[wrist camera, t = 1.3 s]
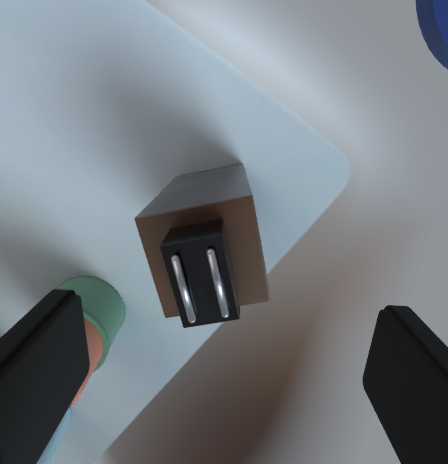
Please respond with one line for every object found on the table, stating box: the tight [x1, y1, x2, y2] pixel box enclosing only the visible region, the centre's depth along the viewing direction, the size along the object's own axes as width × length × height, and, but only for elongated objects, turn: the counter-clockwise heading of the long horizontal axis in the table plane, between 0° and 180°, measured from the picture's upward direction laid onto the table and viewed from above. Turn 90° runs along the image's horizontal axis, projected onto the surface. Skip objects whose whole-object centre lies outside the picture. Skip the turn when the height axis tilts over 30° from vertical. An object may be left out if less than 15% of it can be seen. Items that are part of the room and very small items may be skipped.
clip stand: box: [135, 163, 271, 318], centre depth 26 cm, size 7×7×15 cm
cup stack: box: [57, 276, 125, 407], centre depth 32 cm, size 9×9×11 cm
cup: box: [37, 408, 71, 464], centre depth 38 cm, size 8×8×10 cm
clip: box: [160, 219, 240, 328], centre depth 17 cm, size 3×5×3 cm, turn 11°
